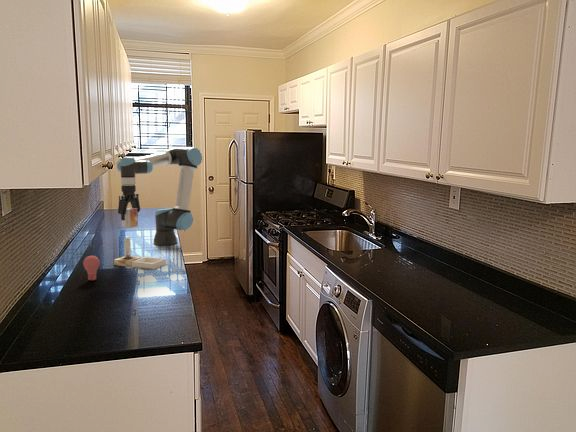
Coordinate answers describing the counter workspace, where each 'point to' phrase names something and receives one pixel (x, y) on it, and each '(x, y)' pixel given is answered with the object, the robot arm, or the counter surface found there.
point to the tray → (149, 263)
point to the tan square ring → (125, 261)
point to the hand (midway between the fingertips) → (130, 224)
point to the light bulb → (91, 266)
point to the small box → (131, 218)
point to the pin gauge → (127, 248)
